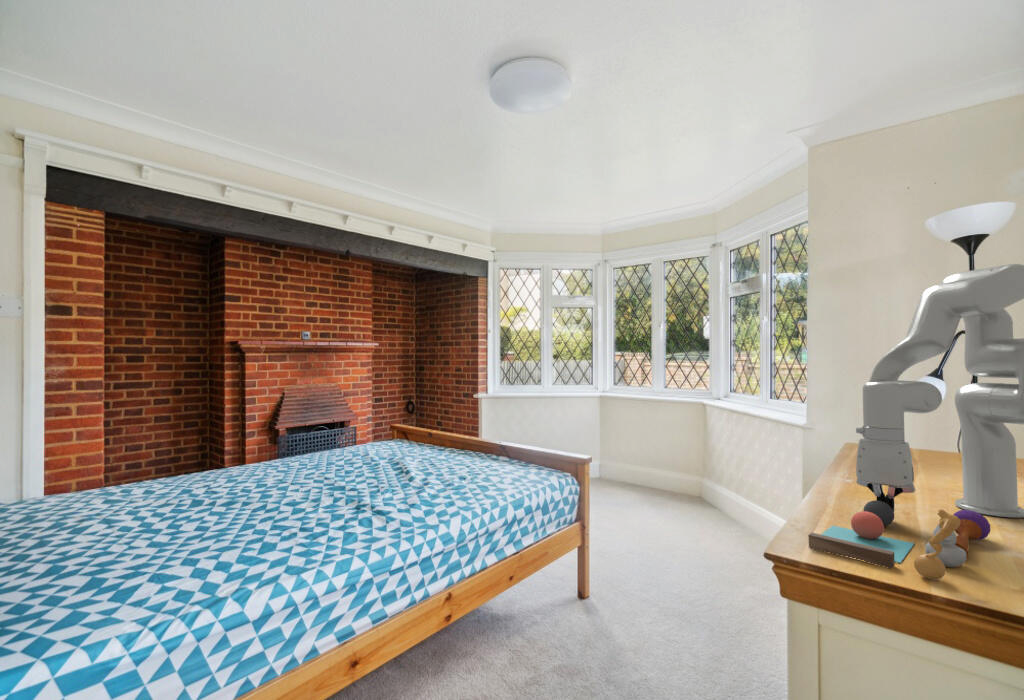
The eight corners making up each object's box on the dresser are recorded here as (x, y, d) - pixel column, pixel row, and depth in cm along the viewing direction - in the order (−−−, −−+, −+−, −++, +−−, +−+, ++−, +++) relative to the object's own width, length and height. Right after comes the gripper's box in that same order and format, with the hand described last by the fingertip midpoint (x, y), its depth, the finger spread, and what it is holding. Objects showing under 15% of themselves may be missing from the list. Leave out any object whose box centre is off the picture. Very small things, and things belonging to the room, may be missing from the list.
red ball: (851, 503, 100) (846, 524, 97) (883, 509, 96) (879, 531, 93) (856, 519, 102) (851, 540, 99) (888, 526, 98) (883, 548, 95)
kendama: (930, 533, 90) (949, 506, 102) (939, 566, 89) (957, 534, 102) (972, 536, 85) (987, 507, 98) (982, 570, 84) (996, 536, 97)
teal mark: (832, 526, 105) (832, 525, 105) (914, 544, 94) (914, 543, 94) (812, 541, 95) (812, 540, 95) (900, 563, 85) (900, 562, 85)
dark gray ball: (860, 496, 106) (859, 521, 105) (891, 501, 102) (890, 527, 101) (867, 499, 110) (866, 524, 108) (897, 504, 105) (897, 530, 104)
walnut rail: (812, 545, 94) (811, 532, 94) (894, 565, 84) (894, 551, 84) (808, 547, 92) (808, 534, 93) (892, 569, 83) (891, 554, 83)
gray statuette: (922, 564, 85) (921, 519, 85) (930, 555, 89) (928, 512, 89) (963, 574, 81) (962, 527, 81) (969, 564, 85) (968, 519, 85)
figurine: (922, 568, 83) (920, 500, 83) (969, 581, 78) (966, 508, 79) (906, 580, 78) (904, 508, 79) (955, 595, 73) (953, 517, 74)
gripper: (841, 432, 113) (842, 510, 112) (923, 440, 101) (925, 526, 101) (849, 430, 117) (851, 503, 117) (928, 436, 106) (931, 518, 106)
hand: (885, 513), depth 109 cm, fingers closed
